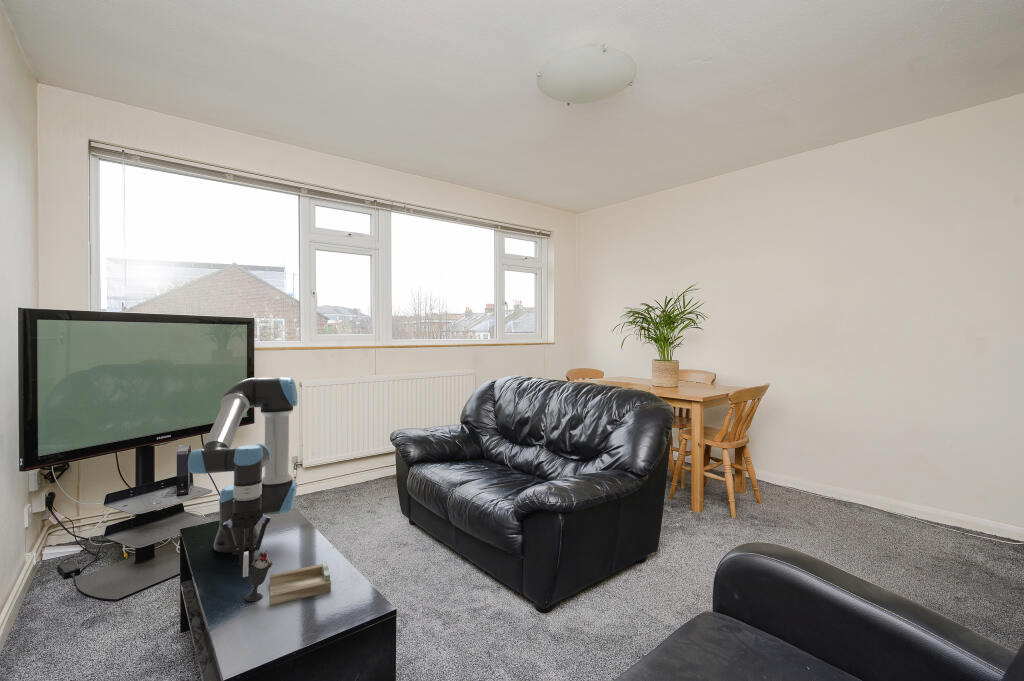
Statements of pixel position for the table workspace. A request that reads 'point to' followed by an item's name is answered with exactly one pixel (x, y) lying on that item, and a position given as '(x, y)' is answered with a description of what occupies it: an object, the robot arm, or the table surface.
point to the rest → (299, 583)
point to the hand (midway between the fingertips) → (245, 574)
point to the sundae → (258, 575)
